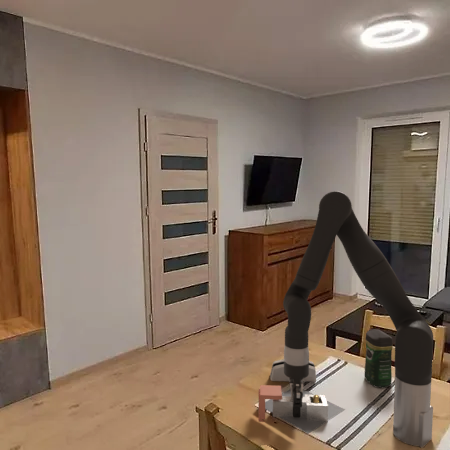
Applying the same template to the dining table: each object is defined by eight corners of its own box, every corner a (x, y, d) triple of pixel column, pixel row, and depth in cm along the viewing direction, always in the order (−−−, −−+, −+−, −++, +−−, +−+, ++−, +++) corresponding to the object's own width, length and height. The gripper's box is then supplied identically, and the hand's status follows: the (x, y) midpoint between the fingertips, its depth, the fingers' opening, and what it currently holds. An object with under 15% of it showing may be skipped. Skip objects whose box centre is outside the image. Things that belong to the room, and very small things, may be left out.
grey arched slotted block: (314, 376, 148) (316, 356, 144) (316, 386, 144) (318, 366, 140) (269, 375, 149) (270, 355, 145) (270, 386, 145) (270, 365, 141)
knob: (319, 418, 122) (319, 396, 121) (316, 420, 121) (316, 398, 120) (315, 415, 123) (315, 394, 123) (312, 417, 122) (312, 396, 122)
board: (344, 411, 125) (344, 409, 125) (307, 436, 113) (308, 433, 113) (296, 388, 140) (296, 385, 140) (259, 407, 128) (259, 405, 128)
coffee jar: (395, 387, 140) (397, 336, 138) (374, 389, 139) (375, 337, 137) (381, 374, 149) (382, 326, 147) (361, 376, 148) (362, 327, 146)
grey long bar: (324, 410, 125) (324, 394, 124) (327, 421, 119) (328, 405, 118) (272, 408, 126) (272, 393, 126) (273, 419, 120) (273, 404, 120)
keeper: (280, 411, 126) (280, 385, 125) (281, 422, 120) (282, 395, 119) (258, 410, 127) (258, 385, 126) (258, 421, 121) (258, 395, 120)
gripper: (312, 370, 114) (311, 427, 115) (306, 349, 128) (305, 401, 129) (285, 369, 114) (285, 426, 116) (282, 349, 128) (282, 400, 130)
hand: (295, 412), depth 123 cm, fingers open, 3 cm apart
